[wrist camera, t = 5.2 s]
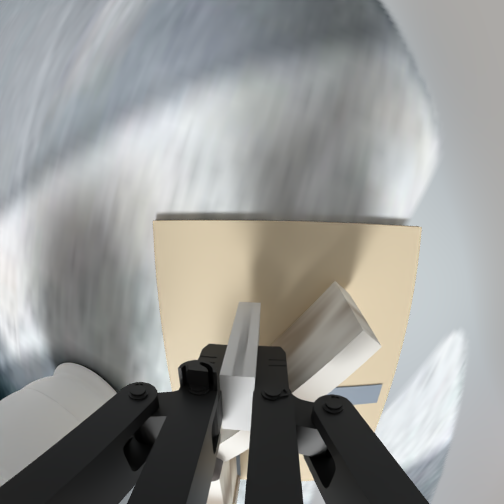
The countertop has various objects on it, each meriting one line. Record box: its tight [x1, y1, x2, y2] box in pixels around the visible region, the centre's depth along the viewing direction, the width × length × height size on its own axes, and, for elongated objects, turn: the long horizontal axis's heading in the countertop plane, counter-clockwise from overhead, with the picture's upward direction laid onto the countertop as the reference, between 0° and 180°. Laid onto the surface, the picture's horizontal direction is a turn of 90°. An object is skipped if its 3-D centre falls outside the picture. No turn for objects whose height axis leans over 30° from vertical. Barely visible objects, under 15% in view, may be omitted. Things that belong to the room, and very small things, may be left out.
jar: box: [0, 363, 117, 487], centre depth 14 cm, size 11×10×15 cm
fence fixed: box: [207, 456, 240, 504], centre depth 16 cm, size 14×2×7 cm, turn 0°
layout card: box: [153, 220, 422, 481], centre depth 18 cm, size 24×16×1 cm, turn 0°
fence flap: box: [211, 281, 382, 482], centre depth 14 cm, size 12×2×7 cm, turn 140°
